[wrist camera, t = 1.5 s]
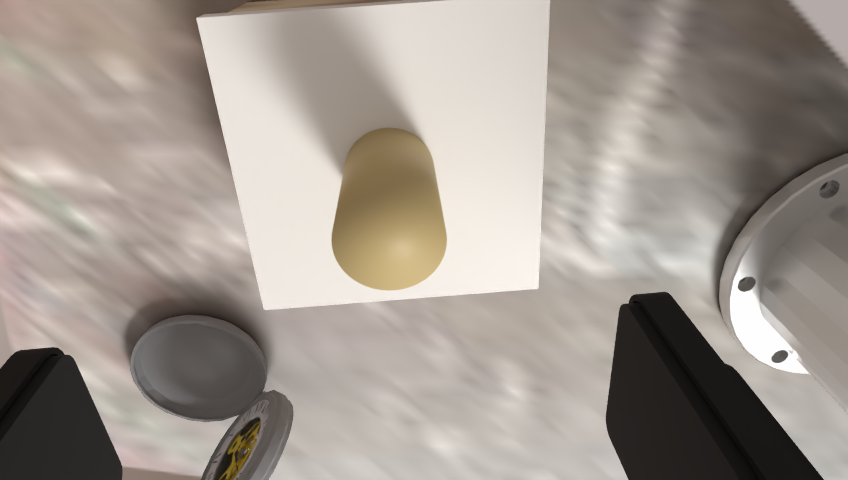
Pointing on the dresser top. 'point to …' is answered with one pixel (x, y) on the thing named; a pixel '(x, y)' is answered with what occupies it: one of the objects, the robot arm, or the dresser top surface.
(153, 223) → the dresser top surface
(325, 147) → the lid
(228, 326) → the pocket watch
